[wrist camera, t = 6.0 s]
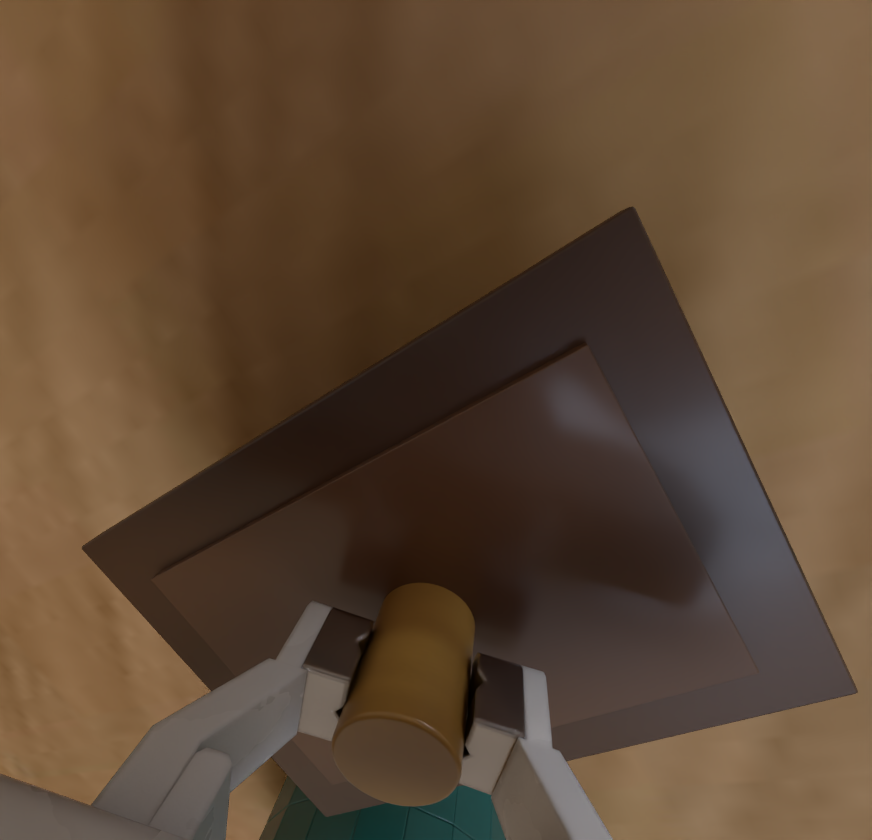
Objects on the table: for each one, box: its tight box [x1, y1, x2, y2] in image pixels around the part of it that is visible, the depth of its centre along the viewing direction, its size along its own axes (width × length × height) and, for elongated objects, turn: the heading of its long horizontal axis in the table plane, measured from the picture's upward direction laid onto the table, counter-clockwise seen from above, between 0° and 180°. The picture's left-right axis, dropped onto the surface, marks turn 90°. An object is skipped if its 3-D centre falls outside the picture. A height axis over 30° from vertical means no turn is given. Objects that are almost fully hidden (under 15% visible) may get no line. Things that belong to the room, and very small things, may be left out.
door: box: [82, 207, 858, 817], centre depth 10 cm, size 12×16×4 cm
